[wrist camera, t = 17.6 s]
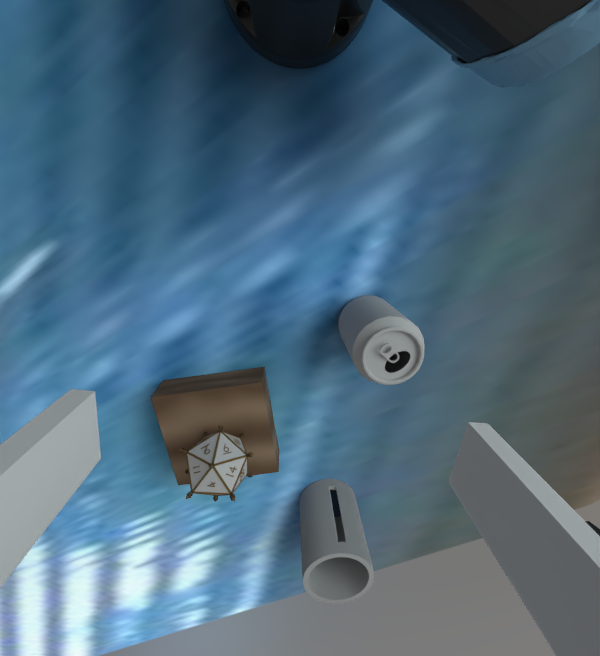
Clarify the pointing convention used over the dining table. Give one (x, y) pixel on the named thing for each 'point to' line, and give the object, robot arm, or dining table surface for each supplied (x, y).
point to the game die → (217, 464)
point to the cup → (333, 544)
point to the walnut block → (218, 416)
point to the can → (381, 340)
